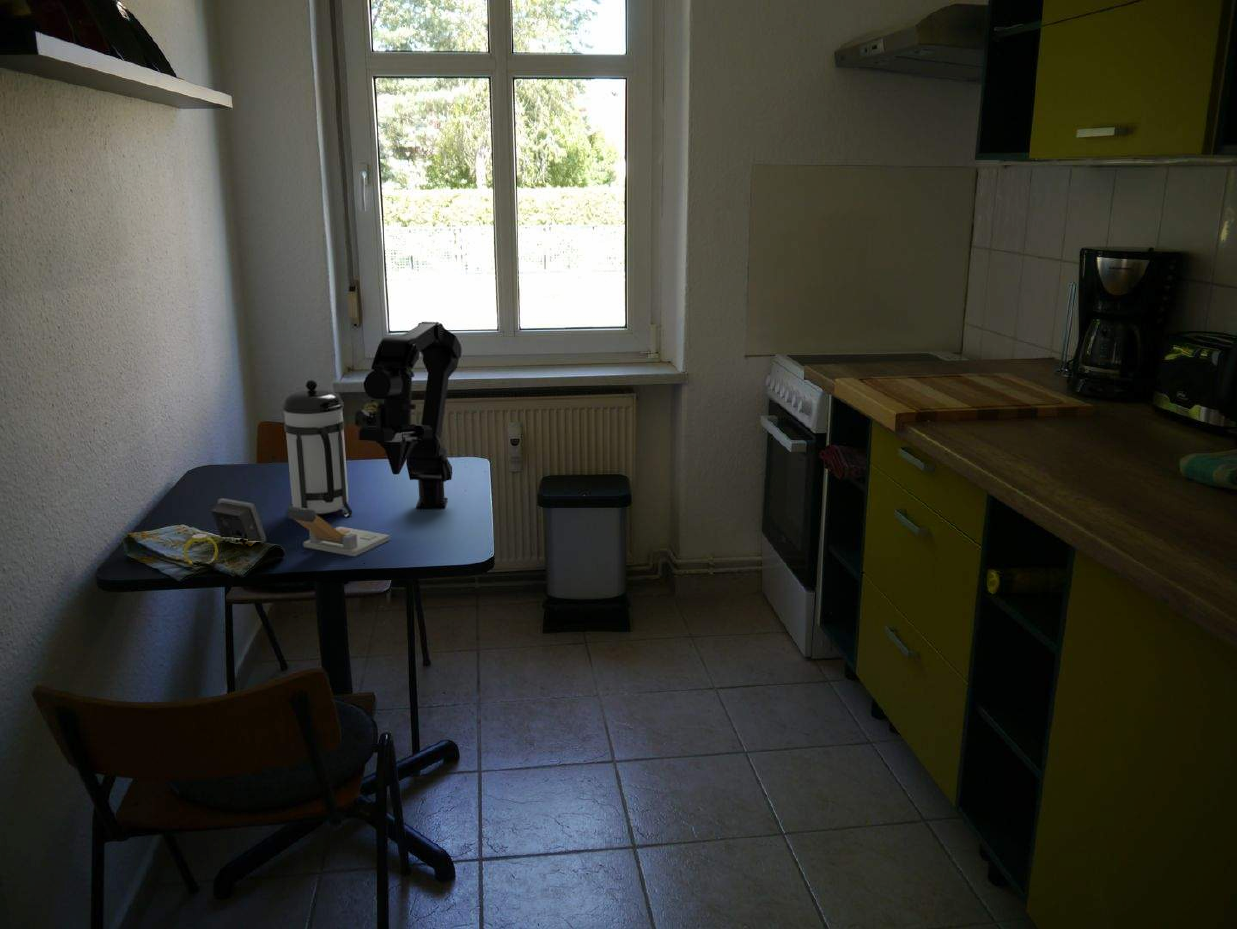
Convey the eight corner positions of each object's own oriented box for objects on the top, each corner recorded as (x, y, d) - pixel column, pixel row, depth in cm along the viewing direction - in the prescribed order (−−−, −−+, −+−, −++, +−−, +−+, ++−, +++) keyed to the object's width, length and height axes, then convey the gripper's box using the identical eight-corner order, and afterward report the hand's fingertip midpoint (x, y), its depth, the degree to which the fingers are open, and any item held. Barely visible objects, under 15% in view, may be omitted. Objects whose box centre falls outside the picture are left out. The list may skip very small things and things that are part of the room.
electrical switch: (267, 542, 211) (260, 500, 207) (249, 552, 206) (241, 509, 203) (233, 536, 214) (225, 494, 211) (214, 546, 210) (206, 503, 207)
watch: (216, 561, 201) (216, 532, 199) (219, 565, 198) (218, 536, 197) (183, 564, 198) (182, 535, 196) (185, 569, 195) (184, 539, 194)
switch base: (340, 530, 218) (338, 515, 217) (389, 539, 212) (388, 523, 211) (303, 546, 208) (302, 530, 207) (354, 556, 203) (353, 539, 202)
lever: (326, 532, 208) (288, 503, 198) (349, 536, 206) (312, 507, 195) (321, 542, 207) (282, 514, 197) (345, 547, 205) (307, 519, 194)
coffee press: (268, 520, 224) (256, 384, 216) (314, 500, 238) (304, 372, 231) (334, 530, 218) (324, 390, 210) (378, 508, 232) (370, 377, 224)
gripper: (390, 397, 224) (389, 468, 226) (336, 397, 207) (335, 474, 208) (434, 399, 220) (433, 472, 221) (383, 399, 203) (381, 478, 204)
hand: (395, 474), depth 214 cm, fingers closed
